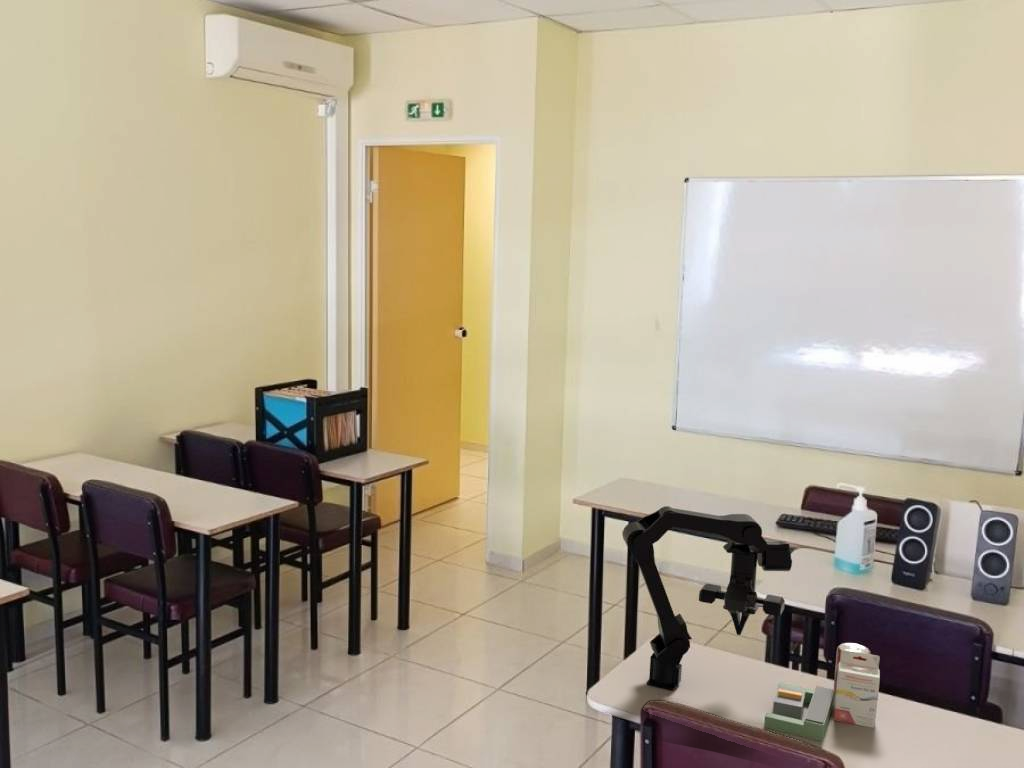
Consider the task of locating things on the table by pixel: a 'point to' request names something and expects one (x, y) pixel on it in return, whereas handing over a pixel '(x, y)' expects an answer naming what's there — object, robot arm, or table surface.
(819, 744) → the table surface
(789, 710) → the grey block orange top
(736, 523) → the robot arm
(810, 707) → the green grey u-shaped block
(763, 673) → the table surface
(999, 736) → the table surface
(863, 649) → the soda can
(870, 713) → the ink cartridge box
